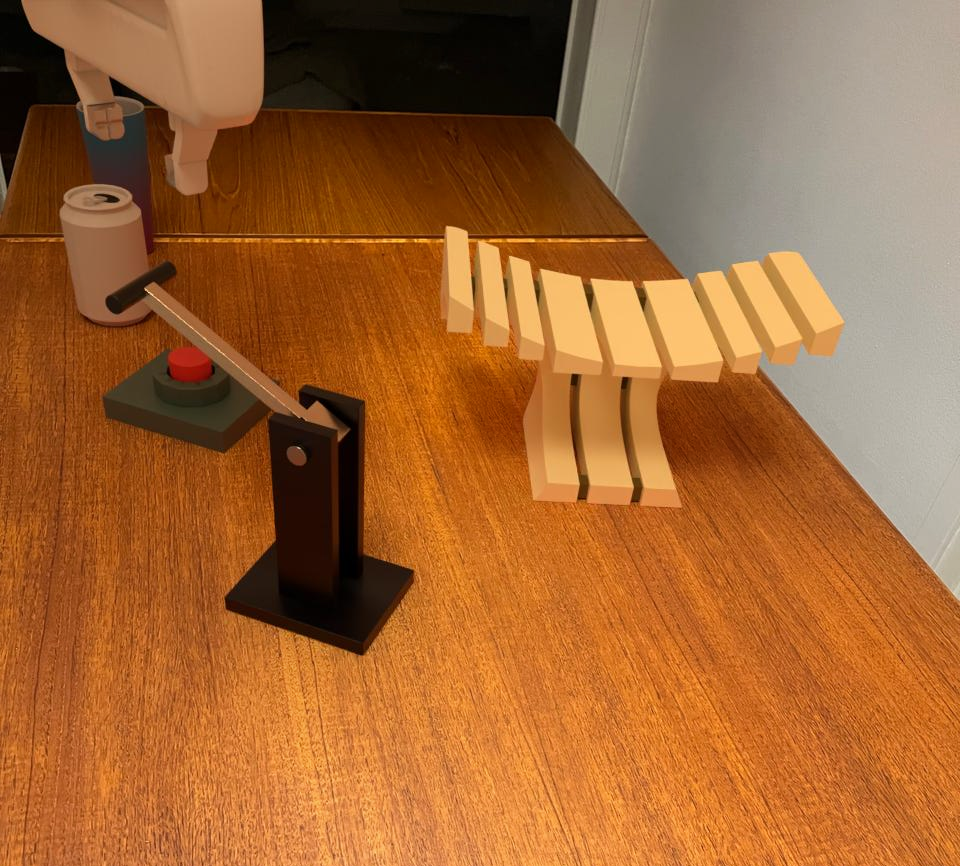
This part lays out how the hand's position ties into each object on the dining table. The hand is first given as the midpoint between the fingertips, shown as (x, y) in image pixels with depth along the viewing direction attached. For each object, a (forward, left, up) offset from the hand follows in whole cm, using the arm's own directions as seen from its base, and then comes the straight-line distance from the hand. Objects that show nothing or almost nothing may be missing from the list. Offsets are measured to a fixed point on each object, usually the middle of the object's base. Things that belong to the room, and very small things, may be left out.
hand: (145, 162), depth 59 cm
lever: (+5, -3, -12) cm, 13 cm away
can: (-16, +36, -28) cm, 48 cm away
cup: (-19, +52, -28) cm, 62 cm away
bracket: (+11, -5, -28) cm, 31 cm away
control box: (-4, +19, -28) cm, 34 cm away
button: (-4, +19, -25) cm, 31 cm away
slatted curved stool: (+33, +18, -28) cm, 47 cm away
